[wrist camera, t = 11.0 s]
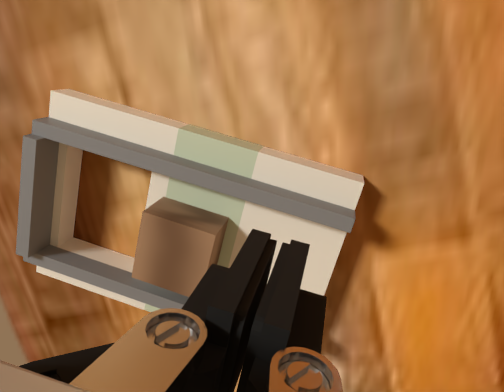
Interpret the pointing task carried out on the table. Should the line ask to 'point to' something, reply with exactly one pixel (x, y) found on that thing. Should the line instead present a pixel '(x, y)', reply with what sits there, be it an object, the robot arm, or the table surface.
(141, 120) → the lane board
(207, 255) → the walnut block
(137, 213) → the table surface
